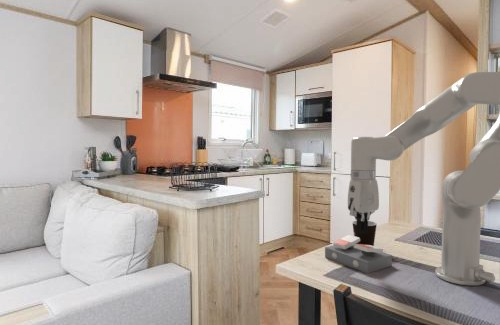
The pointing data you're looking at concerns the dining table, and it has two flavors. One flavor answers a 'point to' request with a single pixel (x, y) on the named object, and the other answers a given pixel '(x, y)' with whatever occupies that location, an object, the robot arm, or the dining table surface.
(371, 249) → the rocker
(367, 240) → the coffee mug
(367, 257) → the rocker switch panel
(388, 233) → the dining table surface
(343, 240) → the rocker
